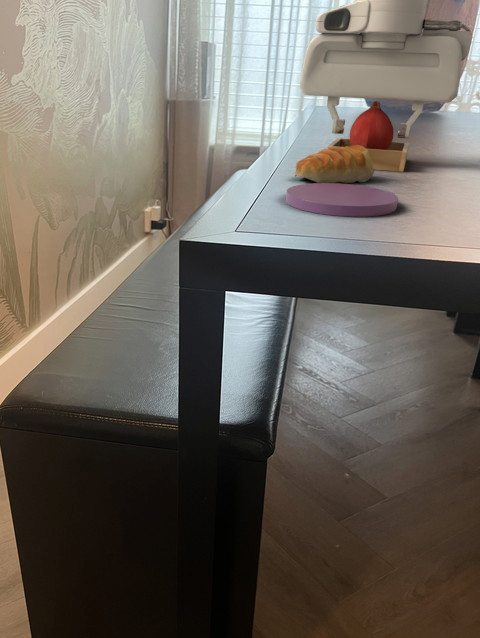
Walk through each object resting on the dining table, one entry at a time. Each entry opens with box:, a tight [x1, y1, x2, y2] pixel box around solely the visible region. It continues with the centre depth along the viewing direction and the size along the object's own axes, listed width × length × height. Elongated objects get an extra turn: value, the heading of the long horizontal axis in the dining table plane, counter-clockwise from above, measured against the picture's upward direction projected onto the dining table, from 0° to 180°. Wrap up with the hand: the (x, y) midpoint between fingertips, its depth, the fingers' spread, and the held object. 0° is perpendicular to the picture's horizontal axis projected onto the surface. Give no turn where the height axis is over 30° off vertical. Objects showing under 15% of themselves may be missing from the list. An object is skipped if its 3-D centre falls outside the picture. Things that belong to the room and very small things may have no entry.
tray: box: [327, 137, 410, 173], centre depth 84 cm, size 10×10×2 cm
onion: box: [349, 100, 394, 150], centre depth 83 cm, size 6×6×8 cm
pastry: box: [294, 145, 375, 184], centre depth 72 cm, size 9×7×4 cm
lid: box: [285, 182, 399, 218], centre depth 61 cm, size 11×11×1 cm
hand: (369, 135), depth 83 cm, fingers open, 7 cm apart
